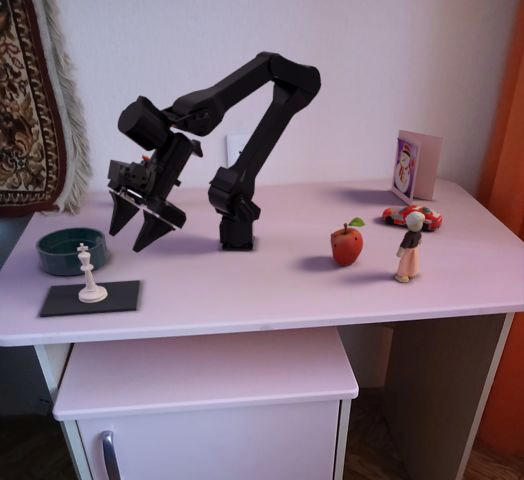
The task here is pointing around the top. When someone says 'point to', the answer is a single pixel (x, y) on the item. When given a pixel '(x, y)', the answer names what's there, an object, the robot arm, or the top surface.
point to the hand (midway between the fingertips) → (122, 243)
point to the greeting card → (416, 165)
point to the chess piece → (89, 280)
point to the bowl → (71, 250)
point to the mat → (68, 303)
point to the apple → (347, 243)
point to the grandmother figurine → (410, 247)
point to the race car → (400, 213)
